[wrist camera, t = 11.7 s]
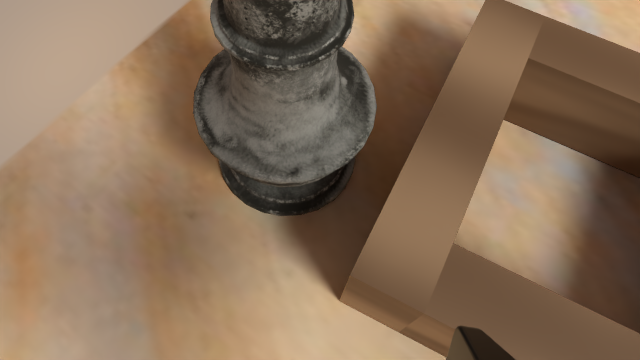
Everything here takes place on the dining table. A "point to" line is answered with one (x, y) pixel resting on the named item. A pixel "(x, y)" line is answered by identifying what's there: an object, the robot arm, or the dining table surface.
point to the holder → (462, 177)
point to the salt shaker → (284, 102)
